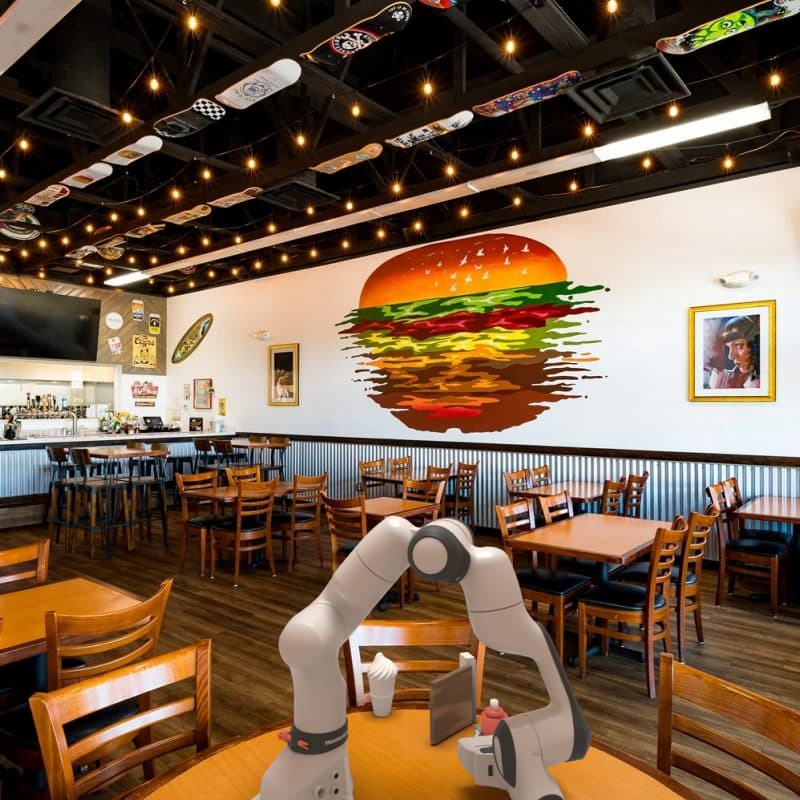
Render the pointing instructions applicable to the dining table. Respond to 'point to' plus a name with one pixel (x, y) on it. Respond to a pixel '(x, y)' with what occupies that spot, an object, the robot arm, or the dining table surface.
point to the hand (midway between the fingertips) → (493, 731)
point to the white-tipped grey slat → (469, 659)
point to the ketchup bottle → (491, 717)
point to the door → (450, 703)
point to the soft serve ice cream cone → (382, 684)
